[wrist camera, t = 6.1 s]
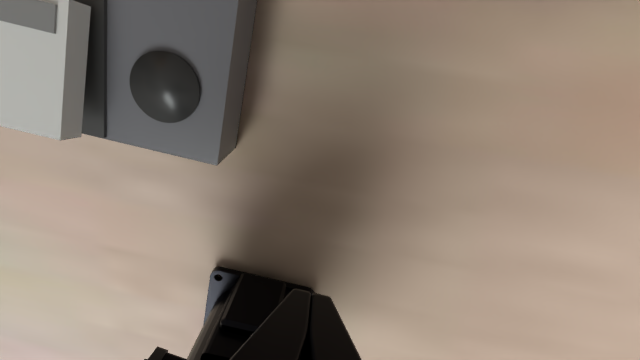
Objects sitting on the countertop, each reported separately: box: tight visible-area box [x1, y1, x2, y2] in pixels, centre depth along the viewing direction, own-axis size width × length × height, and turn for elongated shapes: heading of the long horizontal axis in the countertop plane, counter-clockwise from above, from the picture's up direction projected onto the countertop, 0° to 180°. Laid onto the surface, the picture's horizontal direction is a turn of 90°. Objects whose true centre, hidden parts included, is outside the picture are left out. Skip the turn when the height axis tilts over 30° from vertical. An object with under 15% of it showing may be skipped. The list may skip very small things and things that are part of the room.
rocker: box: [0, 0, 91, 140], centre depth 14 cm, size 5×3×1 cm, turn 167°
